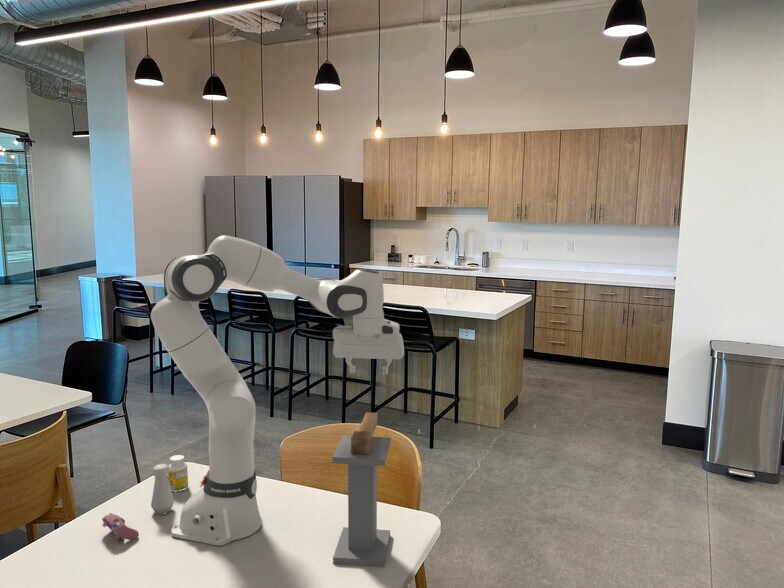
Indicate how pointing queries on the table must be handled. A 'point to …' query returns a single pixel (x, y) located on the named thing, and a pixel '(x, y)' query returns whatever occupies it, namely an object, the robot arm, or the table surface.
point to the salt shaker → (162, 490)
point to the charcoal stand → (362, 505)
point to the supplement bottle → (178, 473)
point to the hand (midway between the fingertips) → (368, 373)
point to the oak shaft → (364, 435)
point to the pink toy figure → (119, 527)
